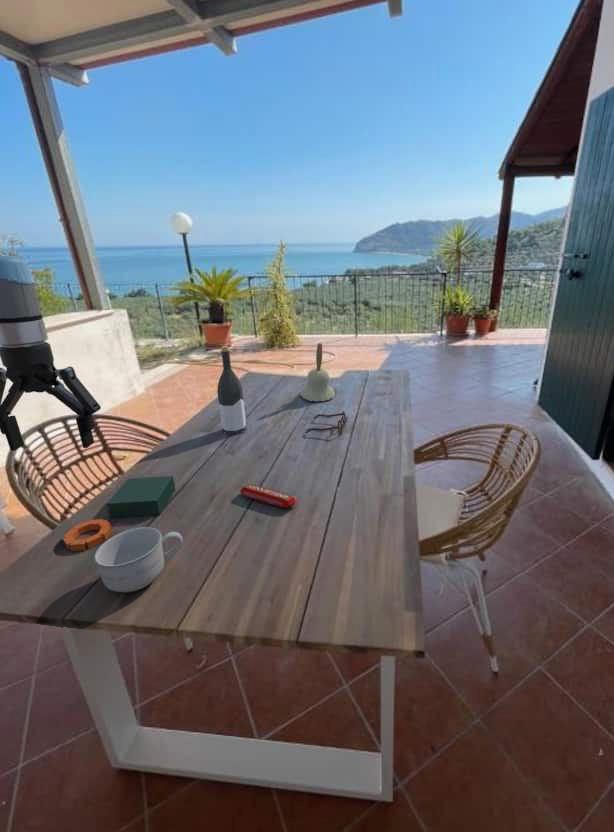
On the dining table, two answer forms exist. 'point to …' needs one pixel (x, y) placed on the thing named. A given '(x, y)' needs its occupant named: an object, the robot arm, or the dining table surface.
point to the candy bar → (268, 496)
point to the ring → (91, 541)
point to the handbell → (317, 382)
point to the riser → (141, 497)
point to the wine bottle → (230, 398)
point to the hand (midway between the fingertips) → (53, 446)
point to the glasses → (331, 427)
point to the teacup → (134, 558)
